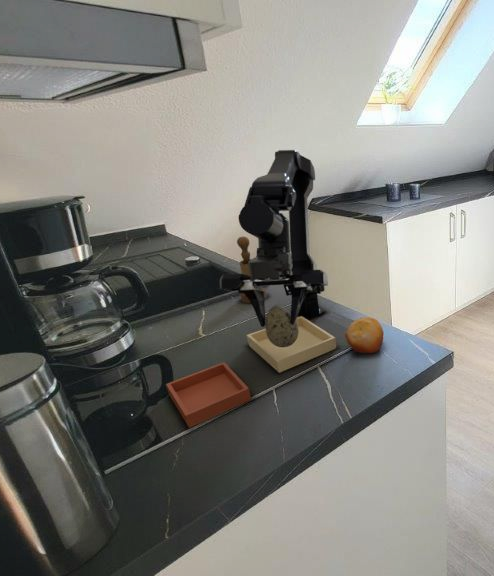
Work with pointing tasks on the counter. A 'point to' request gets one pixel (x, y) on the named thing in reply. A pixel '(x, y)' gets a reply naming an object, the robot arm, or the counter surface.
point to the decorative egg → (280, 327)
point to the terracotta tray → (208, 393)
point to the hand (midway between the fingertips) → (277, 325)
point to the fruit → (365, 335)
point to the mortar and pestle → (246, 264)
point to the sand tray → (293, 346)
